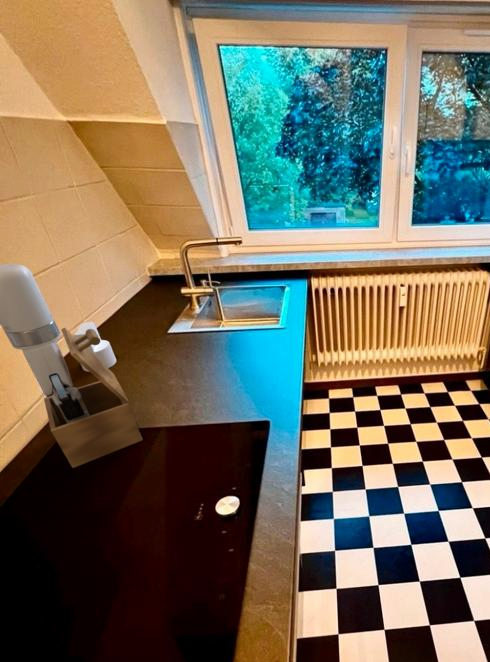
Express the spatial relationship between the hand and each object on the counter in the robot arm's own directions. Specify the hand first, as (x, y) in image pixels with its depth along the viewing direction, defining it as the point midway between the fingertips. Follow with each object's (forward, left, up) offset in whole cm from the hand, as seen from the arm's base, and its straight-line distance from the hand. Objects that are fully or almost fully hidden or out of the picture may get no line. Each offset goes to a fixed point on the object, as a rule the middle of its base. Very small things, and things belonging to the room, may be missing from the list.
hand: (73, 410), depth 82 cm
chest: (+2, 0, -10) cm, 10 cm away
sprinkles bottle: (0, 0, -9) cm, 9 cm away
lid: (+6, 0, +8) cm, 10 cm away
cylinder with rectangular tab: (+8, +40, -10) cm, 42 cm away
